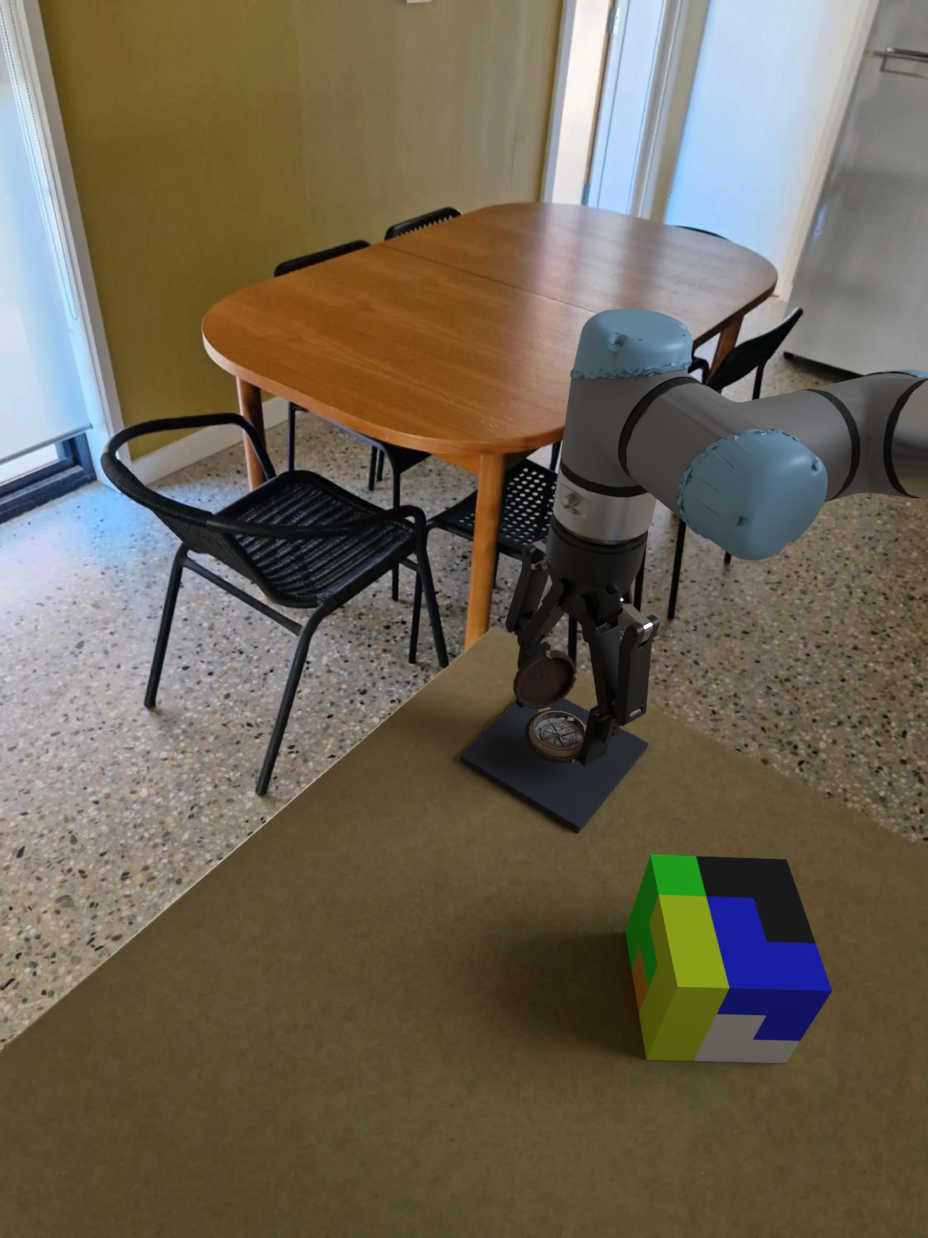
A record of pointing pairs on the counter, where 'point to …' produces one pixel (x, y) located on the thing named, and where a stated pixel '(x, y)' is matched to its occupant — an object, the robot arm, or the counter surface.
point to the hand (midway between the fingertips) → (559, 727)
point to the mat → (551, 767)
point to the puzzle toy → (723, 960)
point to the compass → (541, 689)
